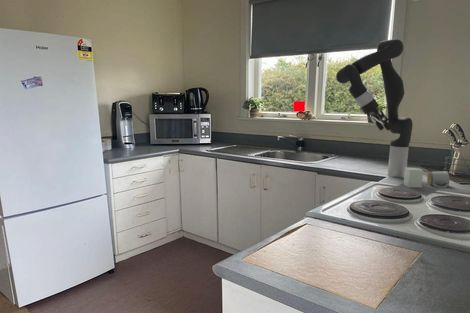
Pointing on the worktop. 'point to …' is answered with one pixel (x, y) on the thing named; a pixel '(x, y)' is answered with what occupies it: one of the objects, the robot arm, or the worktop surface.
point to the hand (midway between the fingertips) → (385, 129)
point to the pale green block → (413, 177)
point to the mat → (416, 189)
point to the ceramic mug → (438, 179)
